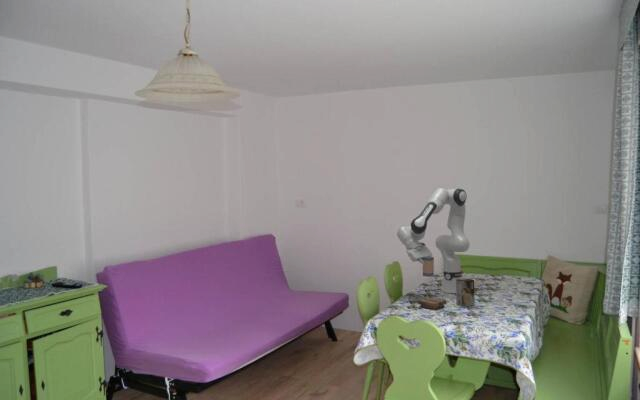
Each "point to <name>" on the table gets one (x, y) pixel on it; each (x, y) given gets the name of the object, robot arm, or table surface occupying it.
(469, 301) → the coffee box
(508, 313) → the table surface
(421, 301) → the walnut stand
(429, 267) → the housing
